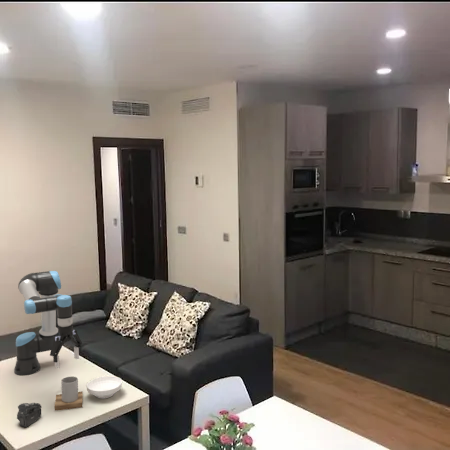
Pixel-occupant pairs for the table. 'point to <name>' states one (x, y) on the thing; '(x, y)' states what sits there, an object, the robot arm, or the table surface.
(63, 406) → the trivet
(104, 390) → the bowl
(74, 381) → the mug
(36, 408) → the camera
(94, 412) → the table surface
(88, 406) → the table surface
